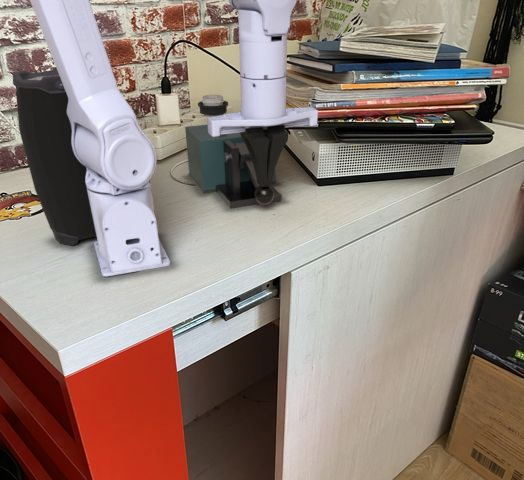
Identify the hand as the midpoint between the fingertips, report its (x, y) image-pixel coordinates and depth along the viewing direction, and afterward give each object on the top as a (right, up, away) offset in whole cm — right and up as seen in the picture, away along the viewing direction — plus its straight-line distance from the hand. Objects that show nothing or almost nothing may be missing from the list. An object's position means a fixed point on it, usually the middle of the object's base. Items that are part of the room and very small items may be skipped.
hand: (264, 184), depth 74 cm
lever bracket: (-3, +1, +9) cm, 9 cm away
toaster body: (-5, +5, +14) cm, 16 cm away
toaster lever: (-2, +2, +4) cm, 5 cm away
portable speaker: (-24, -8, -2) cm, 25 cm away
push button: (-9, +14, +26) cm, 31 cm away
